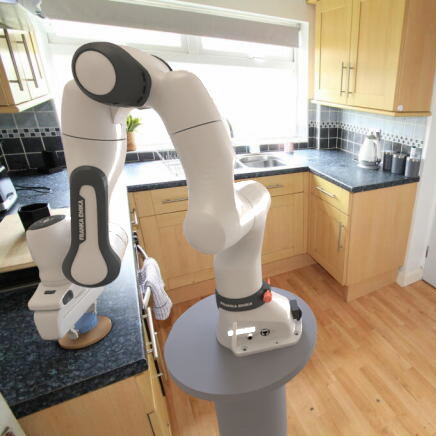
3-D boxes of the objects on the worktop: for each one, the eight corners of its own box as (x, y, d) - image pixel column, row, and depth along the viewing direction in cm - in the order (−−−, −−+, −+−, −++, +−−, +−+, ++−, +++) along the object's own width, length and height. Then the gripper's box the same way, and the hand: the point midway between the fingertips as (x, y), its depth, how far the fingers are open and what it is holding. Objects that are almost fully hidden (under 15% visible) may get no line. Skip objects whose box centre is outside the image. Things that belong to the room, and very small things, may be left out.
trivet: (119, 316, 87) (118, 314, 87) (97, 347, 77) (97, 345, 77) (76, 319, 86) (75, 316, 86) (48, 350, 76) (47, 348, 76)
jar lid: (63, 330, 80) (61, 325, 79) (88, 315, 85) (86, 309, 84) (79, 337, 77) (76, 332, 77) (103, 321, 83) (101, 316, 82)
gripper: (79, 259, 85) (93, 301, 90) (21, 309, 66) (43, 358, 72) (105, 258, 85) (117, 299, 91) (54, 308, 67) (73, 356, 72)
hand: (84, 326), depth 81 cm, fingers closed on jar lid, 6 cm apart
